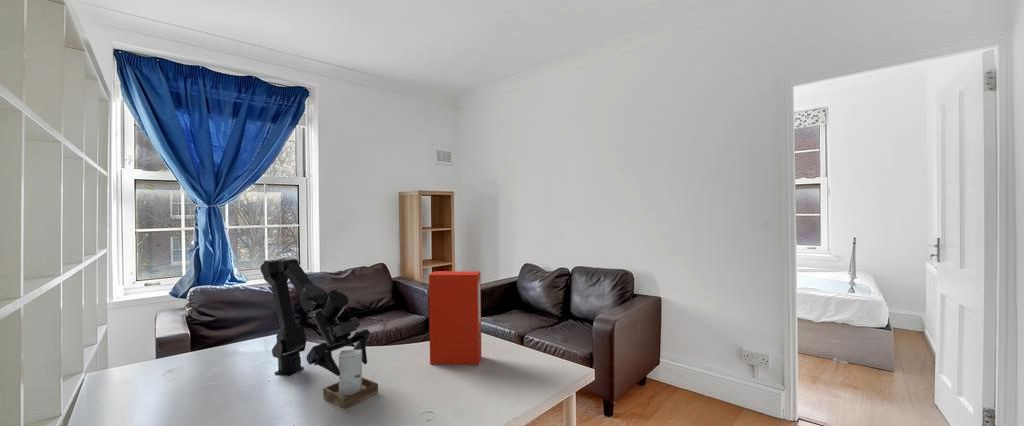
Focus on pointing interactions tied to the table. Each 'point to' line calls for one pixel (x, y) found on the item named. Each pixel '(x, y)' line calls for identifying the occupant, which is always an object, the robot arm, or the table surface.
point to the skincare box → (350, 372)
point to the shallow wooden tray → (347, 401)
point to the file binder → (455, 317)
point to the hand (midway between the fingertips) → (353, 369)
